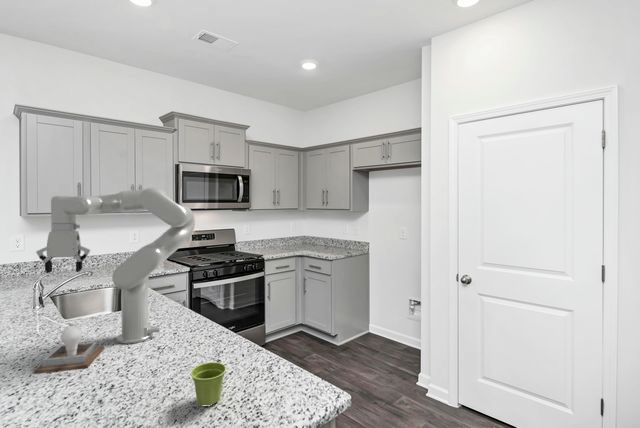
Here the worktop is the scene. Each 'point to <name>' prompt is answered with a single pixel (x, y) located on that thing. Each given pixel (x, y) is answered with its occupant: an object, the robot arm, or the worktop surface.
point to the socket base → (70, 367)
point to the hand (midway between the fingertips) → (64, 271)
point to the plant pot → (208, 382)
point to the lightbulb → (71, 339)
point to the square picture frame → (70, 360)
